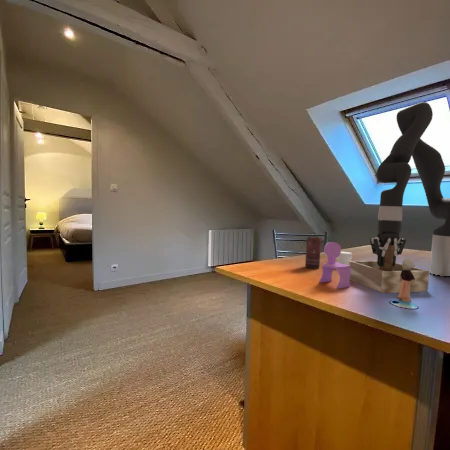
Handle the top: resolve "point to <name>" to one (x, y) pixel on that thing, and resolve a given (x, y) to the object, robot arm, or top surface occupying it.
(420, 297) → the top surface
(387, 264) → the peg
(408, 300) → the grandmother figurine
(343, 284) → the toy chair
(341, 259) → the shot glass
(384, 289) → the crate
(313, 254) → the can
